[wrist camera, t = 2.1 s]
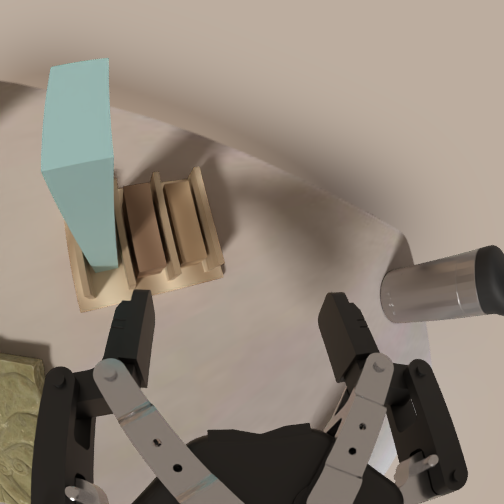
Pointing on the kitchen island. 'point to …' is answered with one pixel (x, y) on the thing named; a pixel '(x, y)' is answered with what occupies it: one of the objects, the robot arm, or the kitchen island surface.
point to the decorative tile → (18, 424)
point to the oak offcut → (184, 224)
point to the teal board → (82, 156)
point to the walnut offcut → (143, 230)
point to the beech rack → (124, 277)
